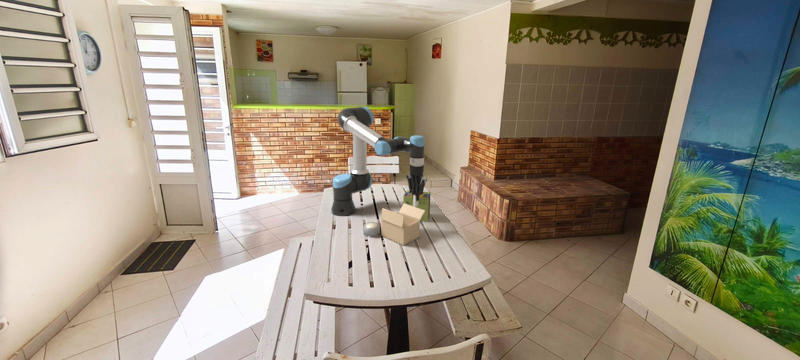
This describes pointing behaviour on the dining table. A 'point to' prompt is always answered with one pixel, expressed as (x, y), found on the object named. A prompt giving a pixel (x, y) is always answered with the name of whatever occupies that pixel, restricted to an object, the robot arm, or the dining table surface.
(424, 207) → the protein box
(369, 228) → the push tap light
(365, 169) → the robot arm
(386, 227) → the carton
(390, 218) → the flap near
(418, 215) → the flap far
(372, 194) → the dining table surface
